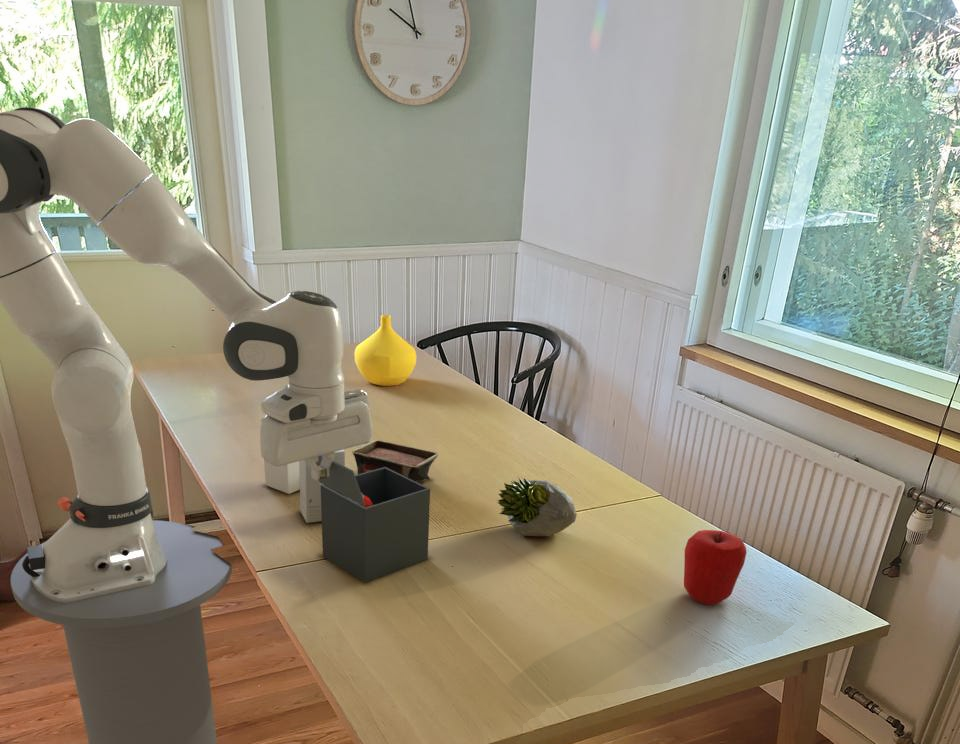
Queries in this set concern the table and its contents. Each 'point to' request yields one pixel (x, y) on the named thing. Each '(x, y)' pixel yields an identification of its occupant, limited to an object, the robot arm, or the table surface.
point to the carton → (376, 525)
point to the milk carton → (283, 476)
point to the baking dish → (394, 459)
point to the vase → (385, 356)
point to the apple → (712, 565)
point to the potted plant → (537, 507)
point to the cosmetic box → (313, 490)
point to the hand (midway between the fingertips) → (320, 477)
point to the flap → (342, 481)
